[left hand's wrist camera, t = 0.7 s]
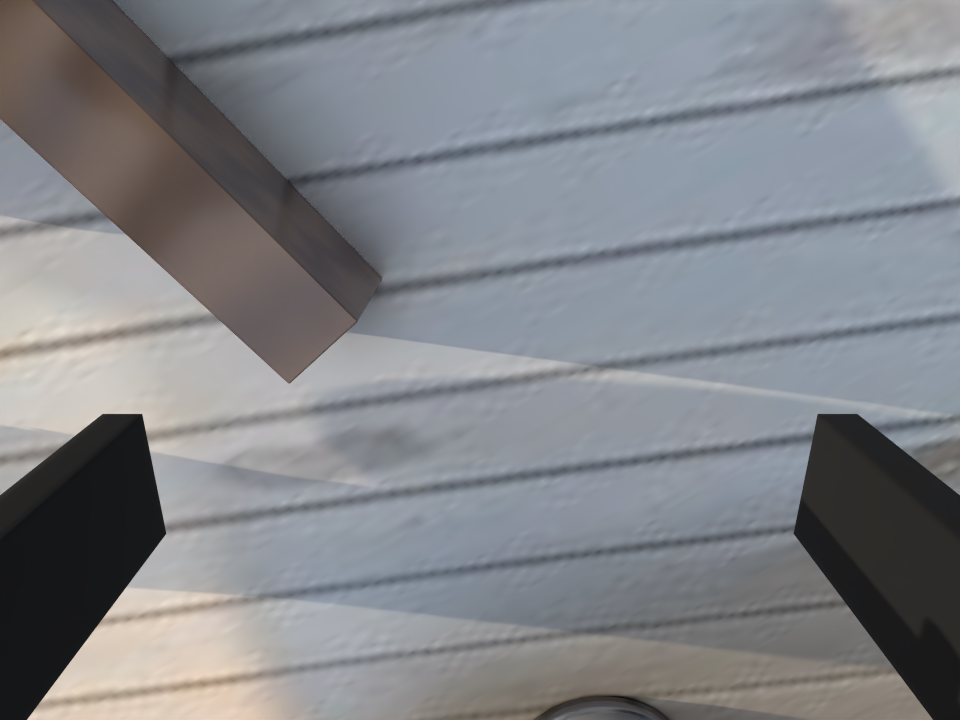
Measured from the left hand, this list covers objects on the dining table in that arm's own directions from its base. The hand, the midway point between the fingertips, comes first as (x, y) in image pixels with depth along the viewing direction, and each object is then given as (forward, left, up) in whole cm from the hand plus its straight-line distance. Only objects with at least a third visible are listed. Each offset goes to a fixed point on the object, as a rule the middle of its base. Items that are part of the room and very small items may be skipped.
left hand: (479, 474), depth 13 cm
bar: (+5, +19, -31) cm, 37 cm away
